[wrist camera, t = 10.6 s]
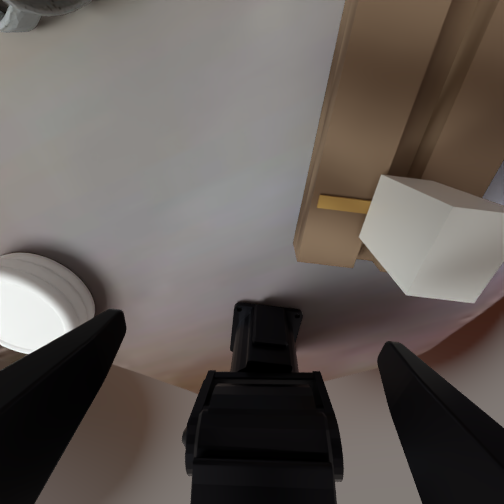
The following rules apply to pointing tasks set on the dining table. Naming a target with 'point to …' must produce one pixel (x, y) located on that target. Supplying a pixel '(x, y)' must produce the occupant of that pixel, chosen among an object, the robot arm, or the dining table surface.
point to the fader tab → (434, 238)
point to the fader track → (402, 114)
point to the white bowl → (39, 301)
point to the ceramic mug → (34, 12)
